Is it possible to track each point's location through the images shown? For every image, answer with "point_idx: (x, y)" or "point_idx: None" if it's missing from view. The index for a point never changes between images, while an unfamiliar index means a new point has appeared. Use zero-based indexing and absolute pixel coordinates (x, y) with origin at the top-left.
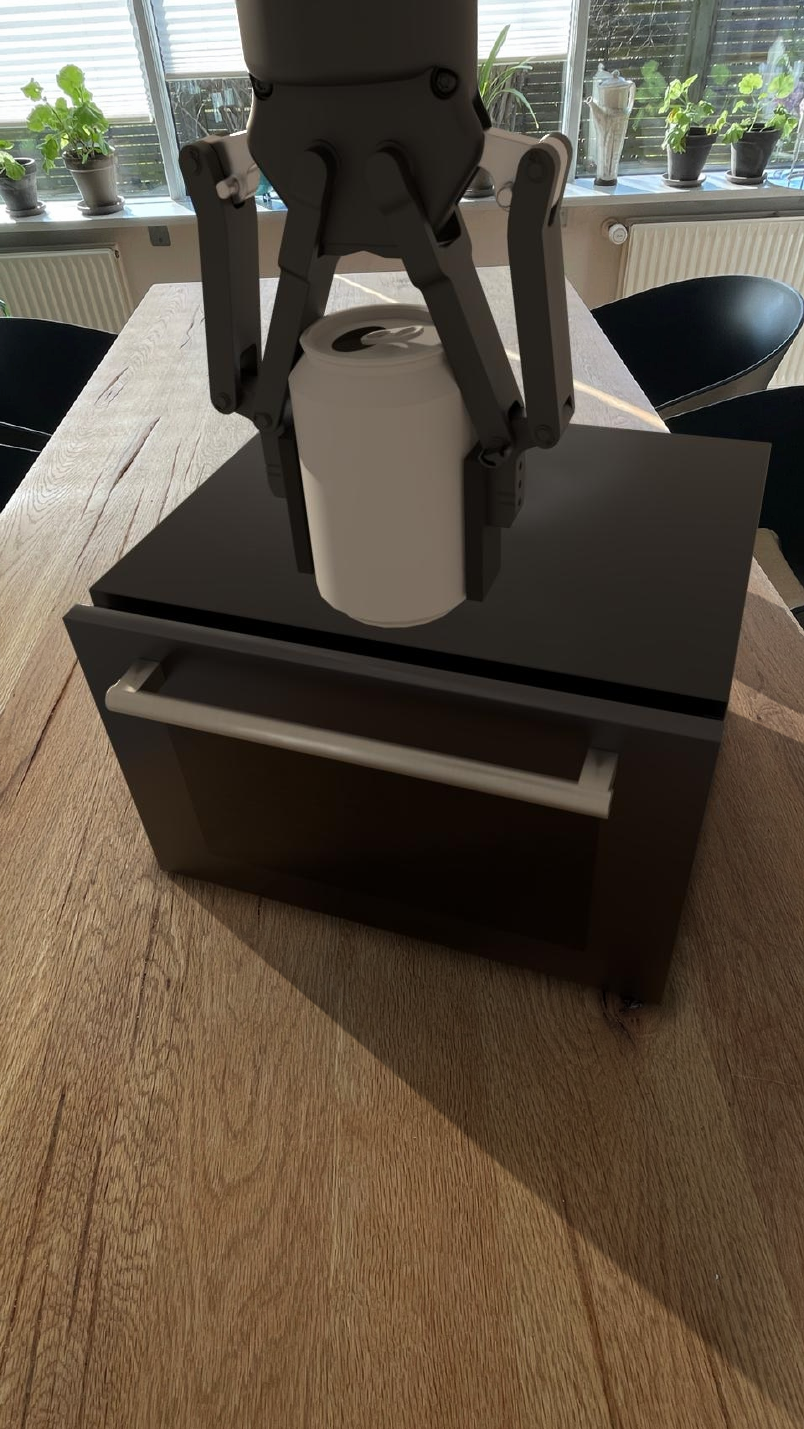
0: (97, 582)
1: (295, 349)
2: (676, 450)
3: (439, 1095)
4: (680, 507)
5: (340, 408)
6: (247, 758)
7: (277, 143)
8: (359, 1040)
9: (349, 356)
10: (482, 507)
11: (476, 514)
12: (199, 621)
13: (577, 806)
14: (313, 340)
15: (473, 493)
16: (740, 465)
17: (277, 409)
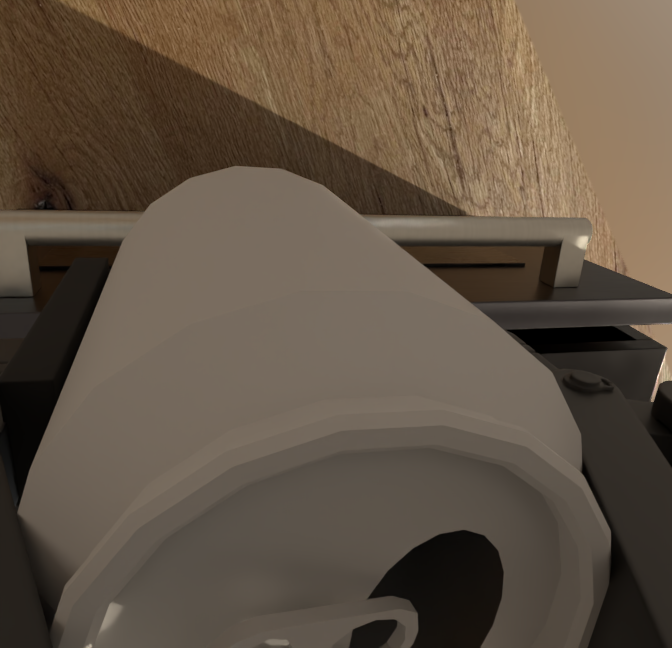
0: (661, 361)
1: (604, 513)
2: None
3: (172, 72)
4: None
5: (372, 292)
6: (428, 254)
7: None
8: (254, 104)
9: (398, 444)
10: (30, 330)
11: (50, 322)
12: (533, 345)
13: (19, 210)
14: (564, 569)
15: (44, 342)
16: None
17: (566, 402)
